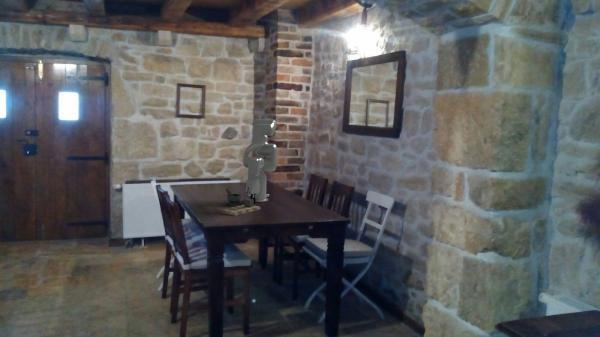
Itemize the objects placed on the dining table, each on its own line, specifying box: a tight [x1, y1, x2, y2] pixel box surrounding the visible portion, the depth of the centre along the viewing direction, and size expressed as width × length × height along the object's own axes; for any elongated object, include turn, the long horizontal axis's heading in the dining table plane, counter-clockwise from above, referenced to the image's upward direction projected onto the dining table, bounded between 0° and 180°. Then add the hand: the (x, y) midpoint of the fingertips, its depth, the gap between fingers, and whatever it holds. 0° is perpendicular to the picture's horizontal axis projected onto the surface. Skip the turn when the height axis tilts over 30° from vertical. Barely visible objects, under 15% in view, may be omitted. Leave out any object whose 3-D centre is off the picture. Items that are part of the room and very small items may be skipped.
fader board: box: [220, 204, 261, 216], centre depth 317 cm, size 26×12×2 cm, turn 147°
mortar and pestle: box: [225, 187, 242, 207], centre depth 337 cm, size 11×9×12 cm
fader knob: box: [243, 198, 255, 207], centre depth 323 cm, size 4×5×4 cm
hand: (252, 203), depth 327 cm, fingers closed
